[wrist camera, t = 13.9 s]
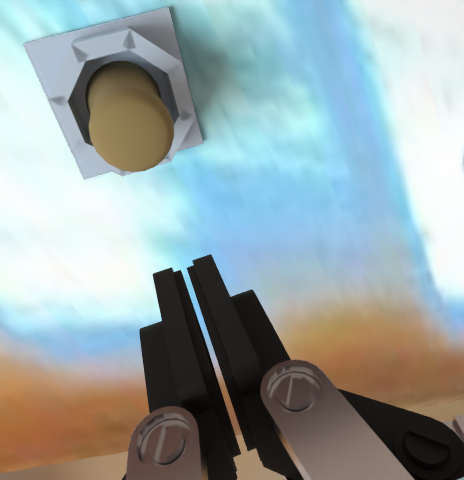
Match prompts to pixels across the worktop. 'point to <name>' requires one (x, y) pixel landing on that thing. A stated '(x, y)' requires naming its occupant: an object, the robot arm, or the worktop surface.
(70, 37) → the grey octagonal holder
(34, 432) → the worktop surface
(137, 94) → the cork
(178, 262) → the worktop surface
